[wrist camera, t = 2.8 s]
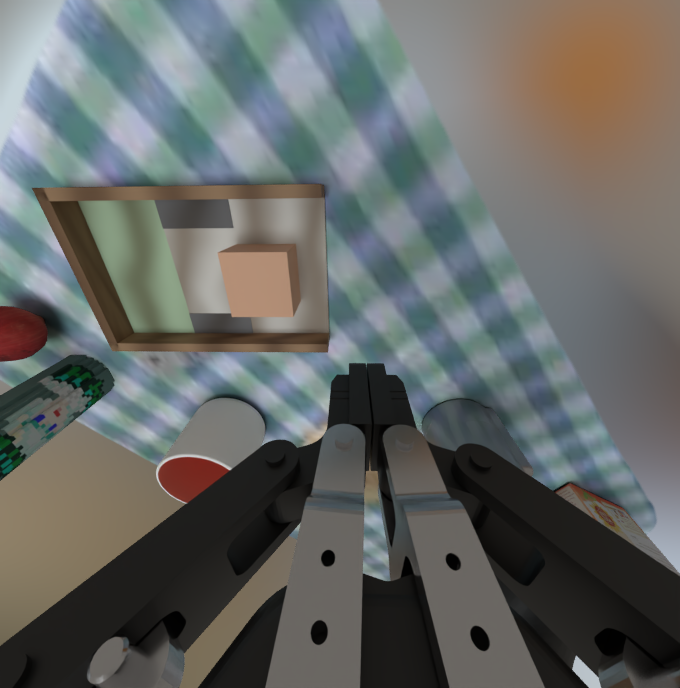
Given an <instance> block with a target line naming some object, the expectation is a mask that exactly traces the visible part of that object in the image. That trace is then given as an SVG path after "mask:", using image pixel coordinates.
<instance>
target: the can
mask: <svg viewBox="0 0 680 688" xmlns="http://www.w3.org/2000/svg"><path fill="white" fill-rule="evenodd" d="M113 382H114V379H113V377H112V375H111V373H110V371H109V369H108V368H104V366H103V364H102V363H99V362H98V361H95V360H94V358H87V357H86V355H70V356H68V357H67V358H65V359H63V360H61V361H60V362H58V363H56V364H54V365H53V366H51V367H49V368H47V369H46V370H44V371H42V372H40V373H39V374H37V375H35V376H34V377H32V378H30V379H28V380H27V381H25V382H23V383H21V384H20V385H18V386H16V387H14V388H13V389H11V390H9V391H7V392H6V393H4V394H2V395H0V480H2V479H3V478H4V477H5V476H7V475H8V474H9V473H10V472H11V471H13V470H14V469H15V468H16V467H18V466H19V465H20V464H21V463H22V462H23V461H25V460H26V459H27V458H29V457H30V456H31V455H32V454H33V453H34V452H36V451H37V450H38V449H40V448H41V447H42V446H43V445H44V444H46V443H47V442H48V441H49V440H51V439H52V438H53V437H54V436H55V435H57V434H58V433H59V432H60V431H62V430H63V429H64V428H65V427H66V426H68V425H69V424H70V423H71V422H73V421H74V420H75V419H76V418H77V417H79V416H80V415H81V414H82V413H84V412H85V411H86V410H87V409H88V408H90V407H91V406H92V405H93V404H95V403H96V402H97V401H98V400H99V399H101V398H102V397H103V396H104V395H106V394H107V393H108V392H109V391H111V389H112V387H113V386H114V384H113Z"/></svg>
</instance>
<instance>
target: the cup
mask: <svg viewBox="0 0 680 688" xmlns="http://www.w3.org/2000/svg"><path fill="white" fill-rule="evenodd" d="M264 436H265V424H264V421H263V419H262V417H261V415H260V414H259V413H258V411H257V410H256V409H254V408H253V407H252V406H250V405H249V404H247V403H245V402H243V401H240V400H237V399H232V398H218V399H213V400H211V401H208V402H206V403H205V404H203V405H202V406H201V407H200V408H199V409H198V410H197V411H196V413H195V414H194V416H193V417H192V418H191V420H190V421H189V423H188V424H187V425H186V427H185V428H184V430H183V431H182V432H181V434H180V435H179V437H178V438H177V440H176V441H175V442H174V444H173V445H172V447H171V448H170V449H169V451H168V452H167V454H166V455H165V457H164V458H163V459H162V461H161V462H160V464H159V465H158V467H157V470H156V477H157V480H158V482H159V484H160V486H161V487H162V488H163V489H164V490H165V491H166V492H167V493H168V494H169V495H171V496H172V497H174V498H175V499H177V500H179V501H181V502H183V503H186V504H187V503H188V502H189V501H191V500H192V499H193V498H195V497H196V496H197V495H198V494H200V493H201V492H202V491H204V490H205V489H206V488H208V487H209V486H210V485H212V484H213V483H214V482H215V481H217V480H218V479H219V478H221V477H222V476H223V475H225V474H226V473H227V472H229V471H230V470H231V469H232V468H234V467H235V466H236V465H238V464H239V463H240V462H242V461H243V460H244V459H246V458H247V457H248V456H249V455H251V454H252V453H253V452H255V451H256V450H257V449H259V448H260V447H261V445H262V442H263V439H264Z"/></svg>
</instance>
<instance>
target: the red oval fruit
mask: <svg viewBox="0 0 680 688" xmlns="http://www.w3.org/2000/svg"><path fill="white" fill-rule="evenodd" d="M47 336H48V331H47V327H46V325H45V320H44V319H43V318H42V317H41V316H38V315H35V314H33V313H31V312H29V311H26V310H23V309H20V308H15V307H8V306H0V362H2V361H14V360H20V359H25V358H27V357H30V356H32V355H33V354H35V353H36V352H38V351H39V350H40V349H41V348H43V347H44V346H45V344H46V342H47Z"/></svg>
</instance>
